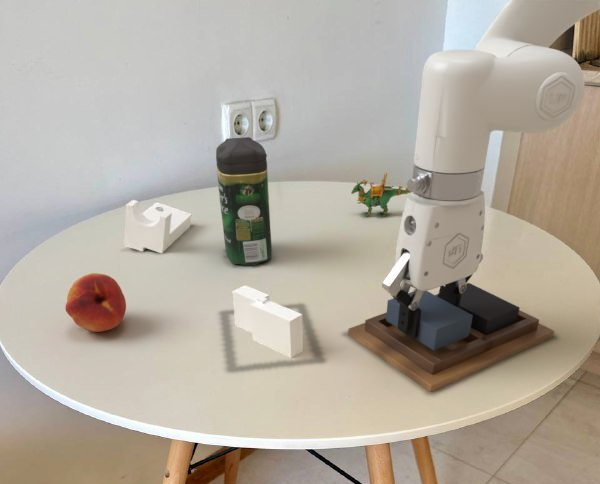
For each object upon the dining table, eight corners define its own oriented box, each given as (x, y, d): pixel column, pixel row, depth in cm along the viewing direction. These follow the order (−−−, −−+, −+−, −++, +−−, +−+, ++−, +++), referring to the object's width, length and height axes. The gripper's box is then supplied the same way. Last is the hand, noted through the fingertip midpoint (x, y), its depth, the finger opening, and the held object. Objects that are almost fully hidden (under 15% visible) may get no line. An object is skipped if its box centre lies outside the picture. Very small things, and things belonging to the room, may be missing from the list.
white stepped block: (321, 360, 75) (321, 320, 71) (231, 370, 73) (227, 330, 70) (300, 305, 87) (299, 269, 83) (222, 313, 85) (218, 276, 82)
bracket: (161, 258, 104) (165, 218, 99) (123, 245, 104) (126, 204, 99) (189, 231, 114) (194, 193, 109) (155, 219, 114) (158, 181, 109)
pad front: (385, 320, 77) (387, 300, 76) (419, 308, 80) (422, 288, 78) (433, 351, 71) (436, 329, 70) (469, 336, 74) (472, 315, 72)
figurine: (350, 212, 118) (351, 170, 113) (410, 212, 117) (415, 170, 112) (350, 218, 115) (352, 175, 110) (412, 218, 115) (416, 175, 110)
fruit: (69, 346, 79) (53, 291, 74) (75, 317, 85) (61, 265, 80) (130, 339, 80) (118, 285, 75) (131, 311, 86) (121, 260, 81)
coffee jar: (223, 246, 105) (212, 135, 94) (267, 243, 106) (261, 132, 95) (227, 269, 97) (216, 150, 86) (275, 265, 98) (269, 147, 87)
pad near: (434, 313, 82) (437, 293, 80) (465, 301, 85) (468, 282, 83) (483, 340, 76) (487, 320, 74) (515, 327, 79) (520, 307, 77)
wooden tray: (347, 335, 80) (348, 318, 78) (464, 292, 89) (466, 277, 88) (430, 392, 69) (432, 375, 68) (552, 337, 79) (557, 320, 77)
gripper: (410, 206, 58) (394, 359, 69) (526, 176, 66) (496, 318, 77) (363, 187, 63) (355, 332, 74) (476, 161, 71) (454, 297, 82)
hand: (427, 324), depth 75 cm, fingers closed on pad front, 5 cm apart
